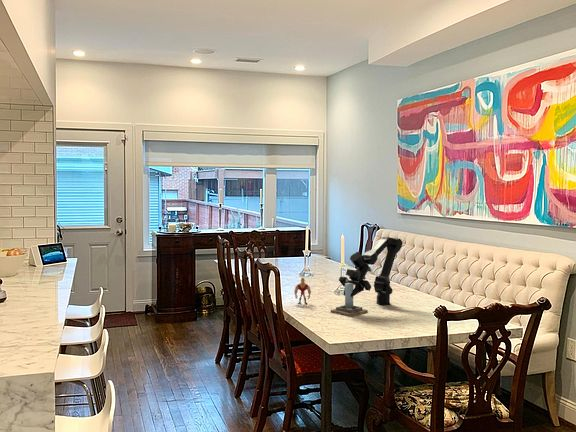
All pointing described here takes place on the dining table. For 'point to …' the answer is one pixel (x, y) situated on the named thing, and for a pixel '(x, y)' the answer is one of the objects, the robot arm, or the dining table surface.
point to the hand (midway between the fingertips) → (347, 295)
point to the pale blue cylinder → (348, 295)
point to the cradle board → (349, 311)
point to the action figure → (302, 290)
